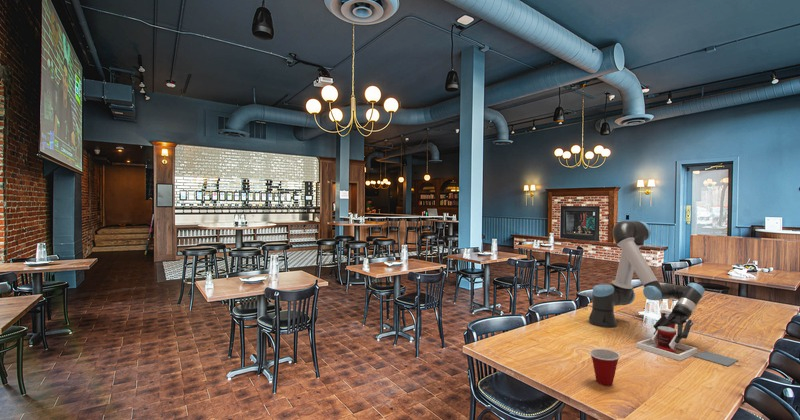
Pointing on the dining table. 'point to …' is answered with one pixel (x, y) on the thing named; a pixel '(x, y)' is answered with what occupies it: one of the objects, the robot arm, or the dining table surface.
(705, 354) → the mat
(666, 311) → the paper cup
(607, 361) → the plastic cup
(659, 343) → the canned food
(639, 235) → the robot arm
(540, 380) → the dining table surface
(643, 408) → the dining table surface
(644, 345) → the corral
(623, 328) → the dining table surface
